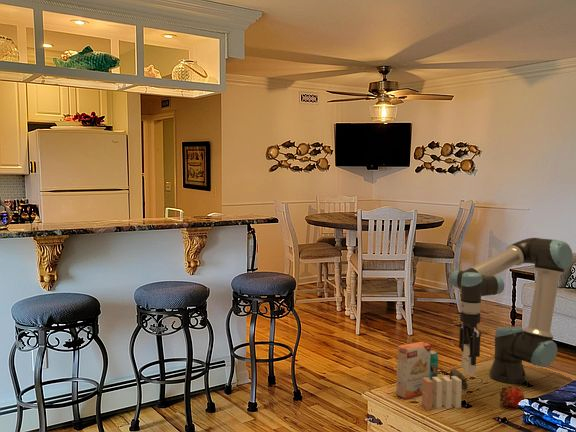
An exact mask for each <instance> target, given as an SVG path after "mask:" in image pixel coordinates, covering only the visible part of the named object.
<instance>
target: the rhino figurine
mask: <svg viewBox="0 0 576 432" xmlns="http://www.w3.org/2000/svg"><path fill="white" fill-rule="evenodd" d="M451 376H457V377H458V378H459V379H461V380H462V388H464V389H467V388H468V386H469V384H468V382H467V380H468V378H469V377H465V376H464V374H462V372H460V371H459V370H458V369H457V368H453V369H451V370H450V371H449V379H450V380H451Z"/></svg>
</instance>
